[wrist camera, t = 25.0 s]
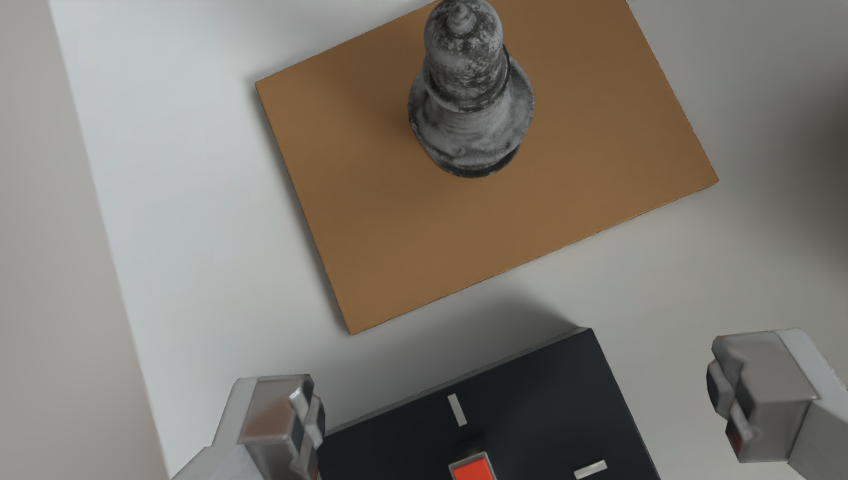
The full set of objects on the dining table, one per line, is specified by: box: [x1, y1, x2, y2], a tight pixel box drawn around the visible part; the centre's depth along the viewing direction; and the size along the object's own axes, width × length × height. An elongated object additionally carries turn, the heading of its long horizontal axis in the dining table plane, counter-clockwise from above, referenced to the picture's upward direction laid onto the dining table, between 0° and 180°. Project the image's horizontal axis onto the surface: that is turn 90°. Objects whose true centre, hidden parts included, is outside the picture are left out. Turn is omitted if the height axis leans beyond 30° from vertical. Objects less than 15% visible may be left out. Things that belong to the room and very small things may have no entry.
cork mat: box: [255, 0, 719, 335], centre depth 30 cm, size 20×15×1 cm
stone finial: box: [407, 0, 535, 178], centre depth 24 cm, size 6×6×12 cm
